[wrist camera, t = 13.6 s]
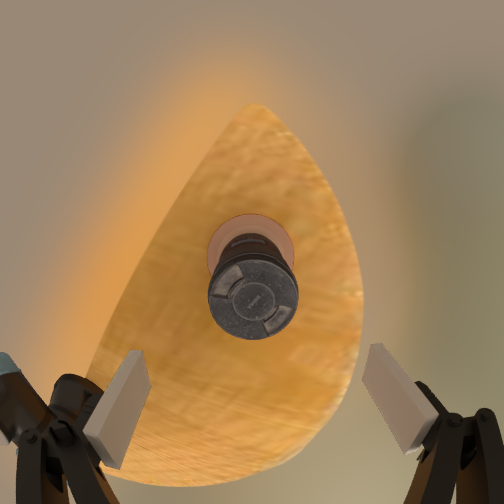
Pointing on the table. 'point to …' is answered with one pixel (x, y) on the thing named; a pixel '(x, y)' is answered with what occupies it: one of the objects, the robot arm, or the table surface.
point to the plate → (249, 225)
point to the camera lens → (252, 288)
